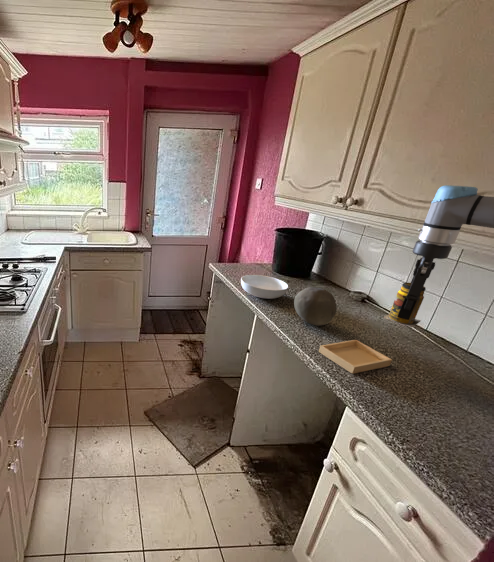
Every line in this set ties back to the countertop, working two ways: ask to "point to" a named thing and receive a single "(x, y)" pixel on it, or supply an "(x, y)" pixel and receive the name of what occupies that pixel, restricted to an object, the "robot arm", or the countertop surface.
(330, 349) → the tray
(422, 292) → the condiment
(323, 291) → the grey round rock
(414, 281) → the robot arm
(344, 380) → the countertop surface
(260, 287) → the serving bowl
